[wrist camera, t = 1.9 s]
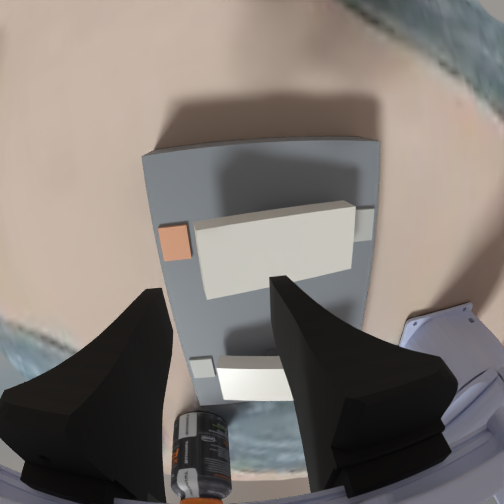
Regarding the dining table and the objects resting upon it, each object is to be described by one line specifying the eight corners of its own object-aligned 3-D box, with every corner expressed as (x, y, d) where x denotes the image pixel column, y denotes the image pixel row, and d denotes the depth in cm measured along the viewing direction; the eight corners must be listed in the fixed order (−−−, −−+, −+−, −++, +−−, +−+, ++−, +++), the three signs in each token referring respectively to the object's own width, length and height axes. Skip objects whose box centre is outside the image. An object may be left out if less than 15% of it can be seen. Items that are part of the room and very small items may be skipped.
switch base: (358, 136, 18) (385, 142, 14) (338, 362, 26) (350, 389, 23) (153, 150, 17) (138, 158, 14) (200, 380, 26) (200, 411, 22)
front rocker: (343, 200, 16) (355, 206, 15) (340, 259, 17) (350, 268, 16) (193, 221, 14) (195, 230, 13) (203, 287, 15) (206, 300, 14)
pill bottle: (168, 410, 27) (161, 506, 17) (223, 408, 28) (230, 506, 18) (181, 436, 30) (179, 519, 20) (230, 434, 30) (237, 519, 20)
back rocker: (338, 353, 19) (340, 366, 18) (332, 386, 20) (334, 398, 19) (219, 355, 19) (216, 368, 18) (225, 387, 21) (223, 399, 20)
